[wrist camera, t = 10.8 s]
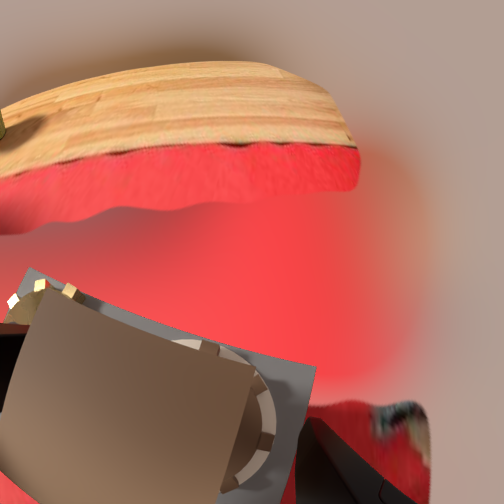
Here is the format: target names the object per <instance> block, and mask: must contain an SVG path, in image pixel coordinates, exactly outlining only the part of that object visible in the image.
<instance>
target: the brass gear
mask: <svg viewBox="0 0 504 504" xmlns="http://www.w3.org/2000/svg"><path fill="white" fill-rule="evenodd" d="M47 288H49V289H51V290H53V291H55V292H57V293H59V294H61V295H63V296H65V297H67V298H69V299H71V300H73V301H75V302H77V303H79V304H83V302H84V300H85V299H86V297H85V296H84V295H83V294H82V293H81V292H80V291H79V290H78V289H77V288H76V287H74V286H72V285H71V284H69V283H67V284H66V286H65V288H64V289H63V291H62V292H61V291H58V290H55V287H54V286H53V285H51V284H50V283H49V282H48V281H47V280H46V279H42V280H37V281H35V289H34V291H32V292H30V293H28V294H26V295H25V296H23V297H22V298H21V297H19V296H18V295H17V294H14V295H13V296H12V297H11V299H10V300H9V301H8V304H9V306H10V308H11V309H10V311H9V312H8V314H7V316H6V318H5V320H4V322H3V323H7V324H22V325H31V322H32V320H33V318H34V315H35V313H36V311H37V309H38V306H39V304H40V302H41V300H42V298H43V296H44V294H45V292H46V290H47Z"/></svg>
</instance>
